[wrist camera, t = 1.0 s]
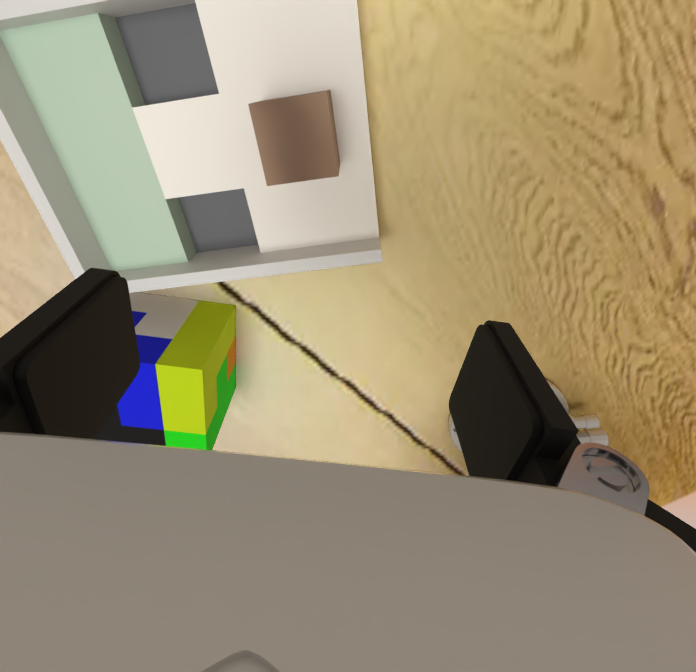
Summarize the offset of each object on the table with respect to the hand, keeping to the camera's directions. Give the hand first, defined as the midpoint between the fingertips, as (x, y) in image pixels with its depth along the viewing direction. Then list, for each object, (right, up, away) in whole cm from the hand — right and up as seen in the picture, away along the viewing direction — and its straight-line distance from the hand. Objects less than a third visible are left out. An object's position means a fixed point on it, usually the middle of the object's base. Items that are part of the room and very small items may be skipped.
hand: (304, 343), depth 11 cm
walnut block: (-2, +14, +17) cm, 22 cm away
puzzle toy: (-15, 0, +29) cm, 33 cm away
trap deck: (-9, +15, +19) cm, 26 cm away
